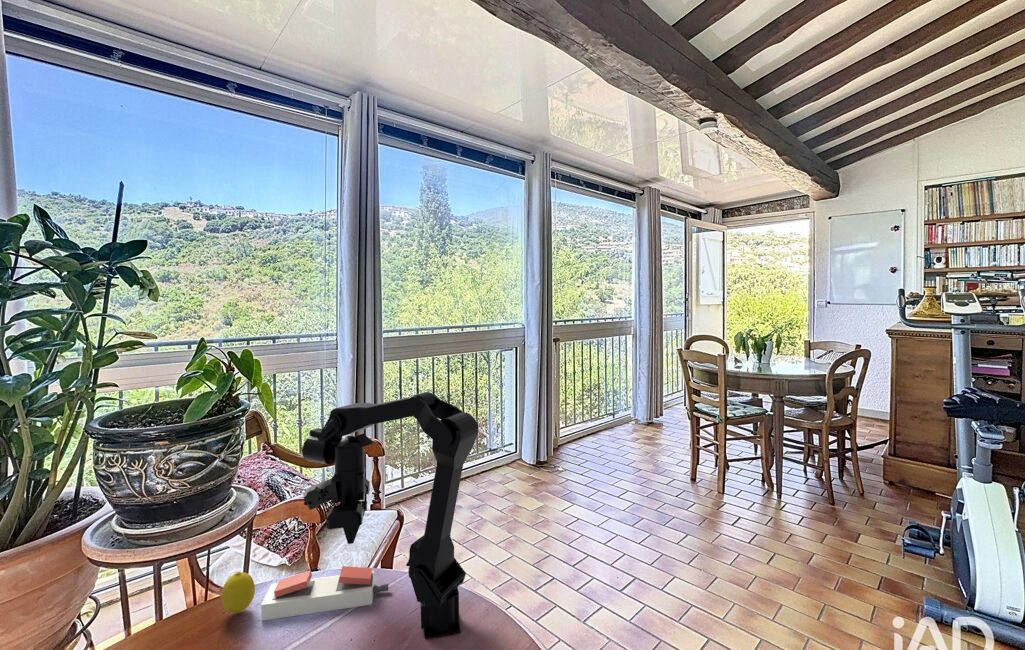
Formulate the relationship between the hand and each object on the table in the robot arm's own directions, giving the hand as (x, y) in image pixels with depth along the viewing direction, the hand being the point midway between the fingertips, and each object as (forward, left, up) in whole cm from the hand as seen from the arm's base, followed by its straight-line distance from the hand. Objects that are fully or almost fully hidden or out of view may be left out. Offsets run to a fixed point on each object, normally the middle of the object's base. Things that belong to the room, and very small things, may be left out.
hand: (350, 542), depth 93 cm
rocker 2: (-1, 0, -7) cm, 7 cm away
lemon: (+21, 0, -11) cm, 24 cm away
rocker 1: (+11, 0, -7) cm, 13 cm away
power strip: (+4, 0, -11) cm, 12 cm away
